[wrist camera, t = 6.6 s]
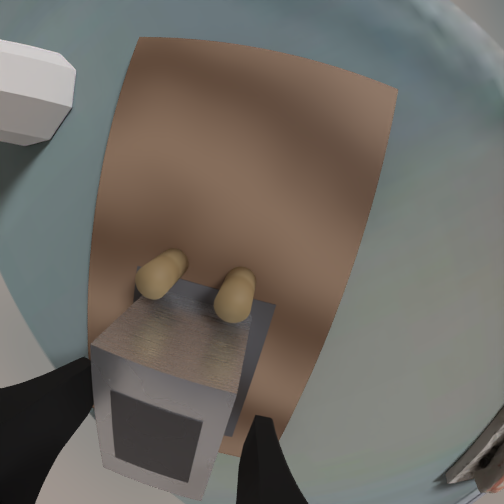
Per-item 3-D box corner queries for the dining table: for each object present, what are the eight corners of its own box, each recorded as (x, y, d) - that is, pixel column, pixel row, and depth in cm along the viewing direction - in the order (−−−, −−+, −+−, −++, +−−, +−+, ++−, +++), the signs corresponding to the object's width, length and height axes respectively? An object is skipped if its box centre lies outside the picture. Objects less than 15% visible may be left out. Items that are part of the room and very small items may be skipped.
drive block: (219, 426, 14) (200, 502, 9) (140, 401, 14) (103, 467, 9) (252, 315, 12) (236, 395, 7) (151, 286, 12) (89, 344, 8)
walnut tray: (267, 450, 16) (264, 494, 12) (99, 398, 16) (74, 432, 12) (389, 95, 11) (424, 71, 7) (147, 45, 11) (113, 14, 8)
